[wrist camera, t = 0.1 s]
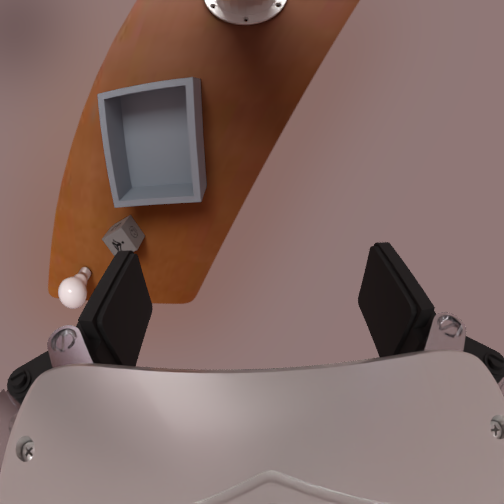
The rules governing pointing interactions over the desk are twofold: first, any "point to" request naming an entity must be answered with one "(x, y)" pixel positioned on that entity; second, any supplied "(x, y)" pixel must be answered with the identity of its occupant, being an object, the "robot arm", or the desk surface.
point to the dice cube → (124, 236)
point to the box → (154, 142)
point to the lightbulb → (74, 289)
